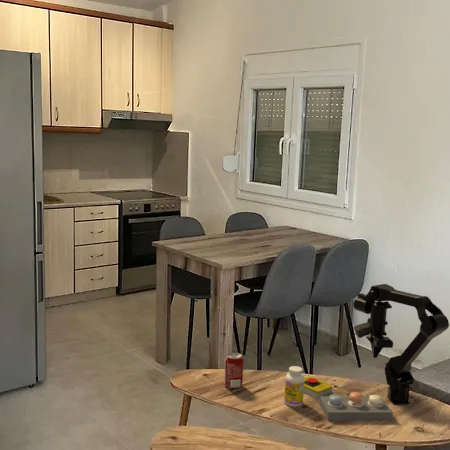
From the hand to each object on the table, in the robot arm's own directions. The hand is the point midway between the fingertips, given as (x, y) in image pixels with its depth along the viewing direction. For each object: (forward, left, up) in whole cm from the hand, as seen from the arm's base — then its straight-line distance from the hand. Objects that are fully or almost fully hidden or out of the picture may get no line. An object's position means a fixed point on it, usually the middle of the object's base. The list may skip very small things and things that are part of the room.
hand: (374, 357), depth 220 cm
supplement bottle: (+33, +13, -12) cm, 38 cm away
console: (+13, +20, -12) cm, 27 cm away
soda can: (+53, -1, -12) cm, 54 cm away
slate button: (+20, +20, -8) cm, 30 cm away
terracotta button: (+13, +20, -7) cm, 25 cm away
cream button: (+6, +20, -8) cm, 23 cm away
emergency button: (+23, +3, -13) cm, 27 cm away
